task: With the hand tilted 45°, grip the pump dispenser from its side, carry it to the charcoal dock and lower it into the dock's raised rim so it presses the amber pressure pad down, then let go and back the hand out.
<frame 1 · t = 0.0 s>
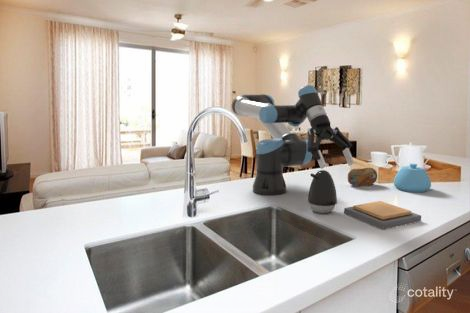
hand: (337, 165, 124), 15 cm above the worktop, tool tilted 35°, fingers open, 13 cm apart
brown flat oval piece: (361, 185, 156), on the worktop
pressure pad: (381, 209, 111), point 3 cm above the worktop, slide at 0.0 cm
dock: (381, 217, 111), on the worktop
pump dispenser: (321, 211, 119), on the worktop
sugar bowl: (411, 189, 148), on the worktop
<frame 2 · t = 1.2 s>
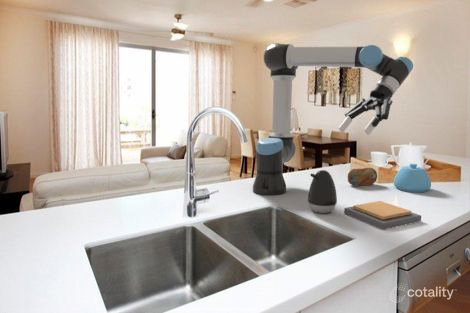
hand: (352, 131, 123), 28 cm above the worktop, tool tilted 45°, fingers open, 13 cm apart
nothing on the worktop moved.
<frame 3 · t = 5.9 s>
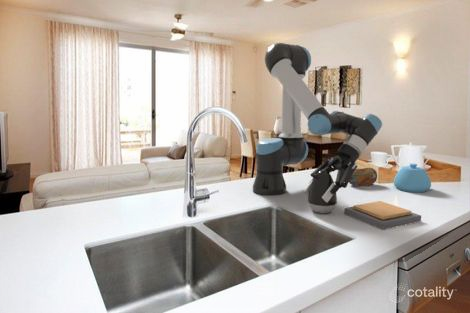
hand: (315, 196, 116), 6 cm above the worktop, tool tilted 45°, fingers closed on pump dispenser, 9 cm apart
pump dispenser: (321, 211, 119), on the worktop, touching gripper
everything else where it was.
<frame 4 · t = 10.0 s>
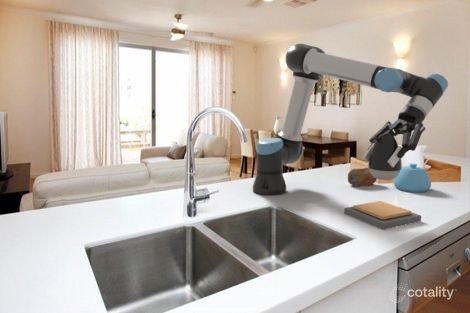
hand: (377, 161, 107), 20 cm above the worktop, tool tilted 45°, fingers closed on pump dispenser, 9 cm apart
pump dispenser: (383, 179, 109), point 13 cm above the worktop, touching gripper
everything else where it was.
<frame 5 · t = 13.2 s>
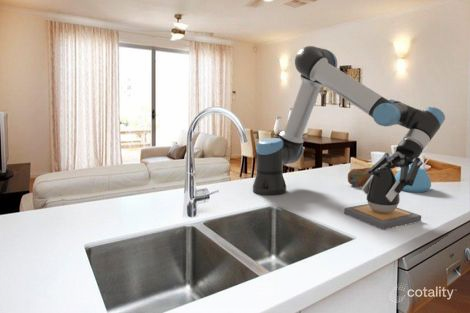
hand: (375, 195, 109), 8 cm above the worktop, tool tilted 45°, fingers closed on pump dispenser, 9 cm apart
pressure pad: (381, 212, 111), point 2 cm above the worktop, slide at -0.9 cm, touching pump dispenser
pump dispenser: (381, 211, 111), point 2 cm above the worktop, touching gripper, pressure pad
everything else where it was.
when the fingers open (8 cm above the worktop, at t = 14.1 s): pump dispenser stays where it is, resting on pressure pad.
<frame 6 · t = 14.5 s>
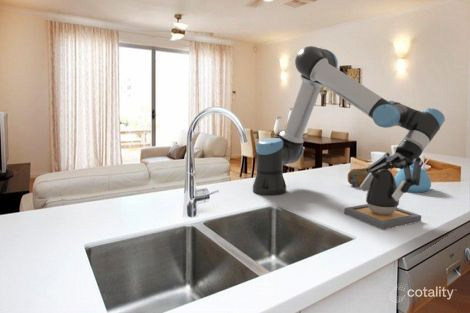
hand: (377, 193, 109), 9 cm above the worktop, tool tilted 45°, fingers open, 13 cm apart
pressure pad: (381, 214, 111), point 1 cm above the worktop, slide at -1.6 cm, touching dock, pump dispenser
pump dispenser: (381, 213, 111), point 1 cm above the worktop, touching pressure pad
everything else where it was.
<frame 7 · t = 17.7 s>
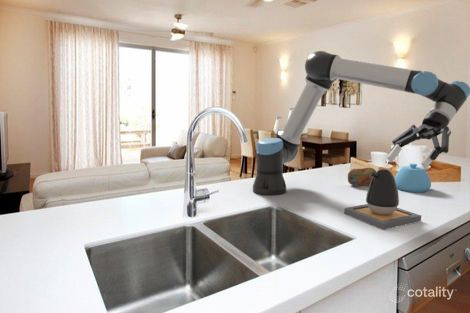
hand: (405, 162, 112), 18 cm above the worktop, tool tilted 45°, fingers open, 13 cm apart
nothing on the worktop moved.
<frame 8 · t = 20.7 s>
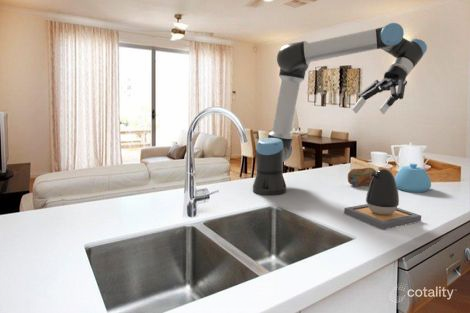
hand: (367, 111, 125), 36 cm above the worktop, tool tilted 45°, fingers open, 13 cm apart
nothing on the worktop moved.
at the end: pressure pad slide at -1.6 cm; pump dispenser inside the target area on the dock (0.0 cm from its centre), point 1.4 cm above the dock's base; pump dispenser tilted 0° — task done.
